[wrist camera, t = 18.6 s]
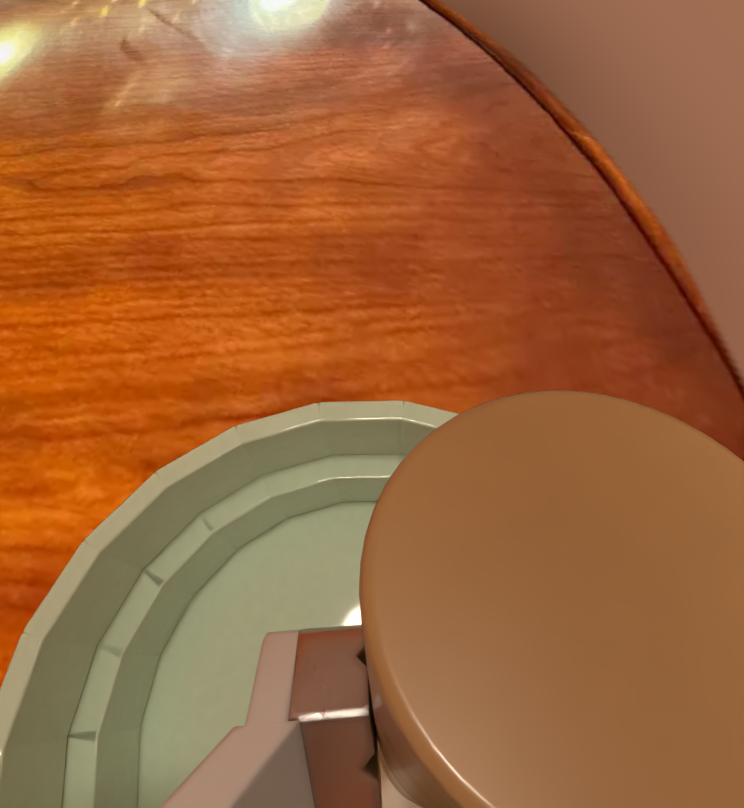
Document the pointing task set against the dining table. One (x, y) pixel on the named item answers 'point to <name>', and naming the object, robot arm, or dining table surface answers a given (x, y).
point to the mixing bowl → (193, 602)
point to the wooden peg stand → (558, 611)
